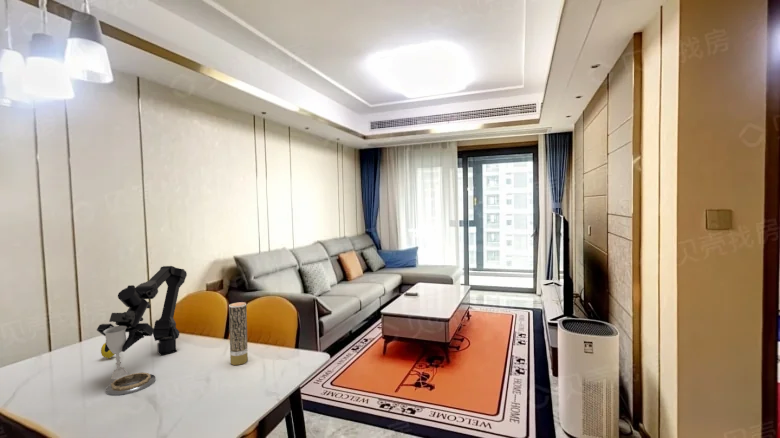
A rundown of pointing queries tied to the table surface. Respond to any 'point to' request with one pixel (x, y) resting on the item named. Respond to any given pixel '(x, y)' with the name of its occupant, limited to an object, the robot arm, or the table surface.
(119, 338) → the chalice
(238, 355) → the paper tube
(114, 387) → the collar
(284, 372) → the table surface
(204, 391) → the table surface
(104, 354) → the lemon
